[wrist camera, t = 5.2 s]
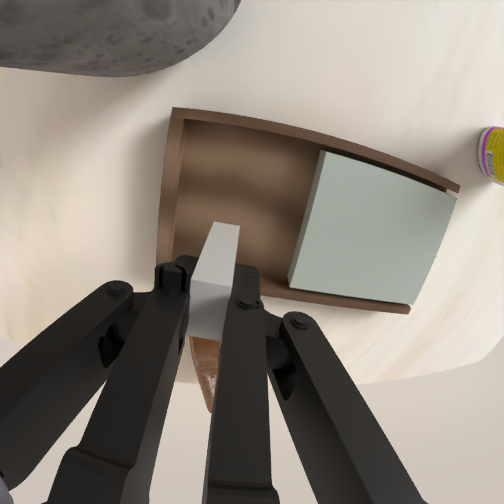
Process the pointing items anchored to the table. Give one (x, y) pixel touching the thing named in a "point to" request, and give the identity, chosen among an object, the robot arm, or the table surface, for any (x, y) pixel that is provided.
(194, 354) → the tin
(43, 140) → the table surface
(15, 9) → the vase
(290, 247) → the walnut case
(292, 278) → the cover plate
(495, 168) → the supplement bottle
